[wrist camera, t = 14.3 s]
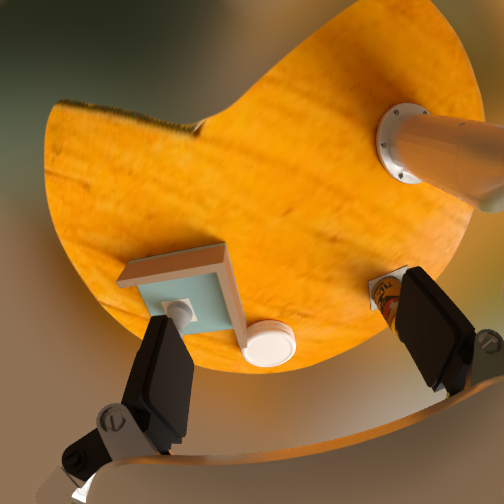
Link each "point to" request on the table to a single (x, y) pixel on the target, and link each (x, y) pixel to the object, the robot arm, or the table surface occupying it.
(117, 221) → the table surface
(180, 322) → the rook chess piece
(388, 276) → the condiment
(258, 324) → the white round container
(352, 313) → the table surface
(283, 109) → the table surface
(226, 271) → the corner arena
